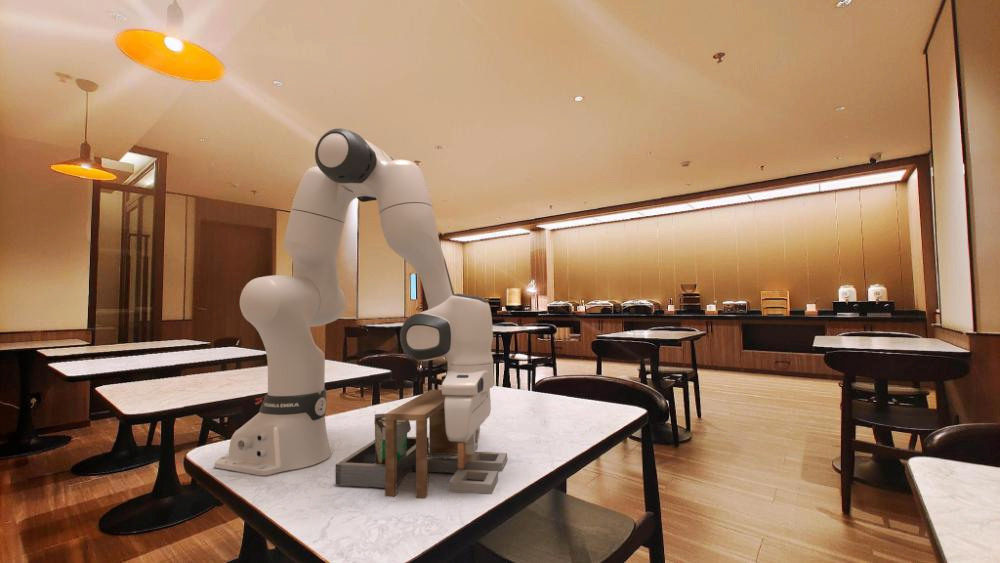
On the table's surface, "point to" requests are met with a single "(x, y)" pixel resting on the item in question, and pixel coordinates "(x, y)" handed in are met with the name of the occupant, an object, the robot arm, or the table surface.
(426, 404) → the brown wooden bench
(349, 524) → the table surface
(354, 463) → the shallow grey tray
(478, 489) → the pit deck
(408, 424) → the food container
